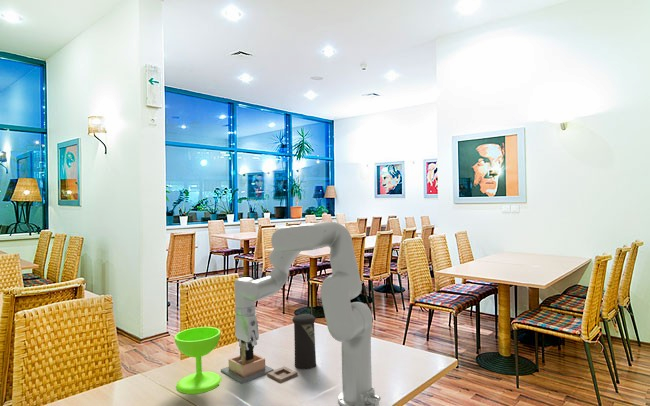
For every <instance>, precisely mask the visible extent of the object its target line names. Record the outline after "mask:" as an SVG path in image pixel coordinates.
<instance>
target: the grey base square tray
mask: <svg viewBox="0 0 650 406" xmlns="http://www.w3.org/2000/svg"><path fill="white" fill-rule="evenodd" d="M253 357H254V358H253V359H252V361H253V362H251V363H248V364H246V365H242V362H241V358H240V355H237V356H234V357H232V358H228V366H227V367H223V368H220V372H222V373H223V374H225V375H227V376H228V377H230V378H232V379H233V380H235V381H237V382H239V383H240V384H244V383H247V382H250V381H252V380H254V379H257V378H260V377H262V376H265V375H267V373H269V372H271V371H274V370H275V369H274V368H272V367H270V366H268V365H266V358H265V357H263V356H261V355H259V354H257V353H254V352H253Z"/></svg>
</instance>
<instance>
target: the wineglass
mask: <svg viewBox="0 0 650 406" xmlns="http://www.w3.org/2000/svg"><path fill="white" fill-rule="evenodd" d="M221 332H222V331H221V329H220V328H218V327H215V326H197V327H191V328H188V329H184V330H182V331H180V332H177V333H176V334H175V335H174V343H175V345H176V347H177V349H178V351H179V352H181V353H182V354H183V355H185V356H187V357H189V358H195V368H196V369H195V370H196V372H194V373H191V374H188V375H186V376H184V377H182V378H181V379H180V380H179V381H178V382H177V383H176V386H175V389H176V391H177V392H178V393H181V392H182V393H181V394H185V393H186V394H187V395H196V394H202V393H206V392H209V391H212V390H214V389H216V388H218V387H219V386H220V384H221V382H222V376H221V375H219V374H218V373H216V372H212V371H202V370H203V368H202V366H203V365H202V364H203V363H202V357H204V356H207V355H208V354H210V353H211V352H212V351H213V350H215V348H216V347H217V345H218V344H219V342H220V339H221Z"/></svg>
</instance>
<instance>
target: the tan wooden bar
mask: <svg viewBox="0 0 650 406" xmlns="http://www.w3.org/2000/svg"><path fill="white" fill-rule="evenodd" d="M249 344H251V343H249ZM245 350H246V342H242V343H241V362H242V365H246V364H248V363H251V362H253V361H252V359H251V360H248V361H246V358H245Z"/></svg>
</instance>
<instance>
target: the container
mask: <svg viewBox="0 0 650 406" xmlns="http://www.w3.org/2000/svg"><path fill="white" fill-rule="evenodd" d="M315 322H316V317H315V316H314V315H313V314H310V313H300V314H298V315H294V316H293V318H292V323H293V328H294V329H293V331H294V334H293V336H294V367H295V368H296V369H298V370H311V369H314V368H315V367H317V356H316V336H315V335H316V334H315Z"/></svg>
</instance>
